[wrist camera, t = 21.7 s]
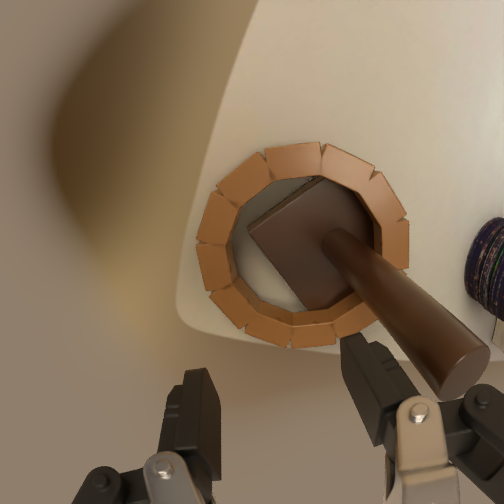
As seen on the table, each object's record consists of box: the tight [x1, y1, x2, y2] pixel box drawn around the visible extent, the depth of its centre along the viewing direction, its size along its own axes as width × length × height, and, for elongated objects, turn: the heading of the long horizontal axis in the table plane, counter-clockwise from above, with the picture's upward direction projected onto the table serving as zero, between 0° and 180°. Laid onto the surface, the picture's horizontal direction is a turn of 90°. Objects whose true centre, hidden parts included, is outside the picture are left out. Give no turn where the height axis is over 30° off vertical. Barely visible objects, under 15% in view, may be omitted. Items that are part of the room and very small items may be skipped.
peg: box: [248, 175, 490, 402], centre depth 14 cm, size 9×9×16 cm
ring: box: [196, 142, 409, 349], centre depth 19 cm, size 14×14×2 cm
